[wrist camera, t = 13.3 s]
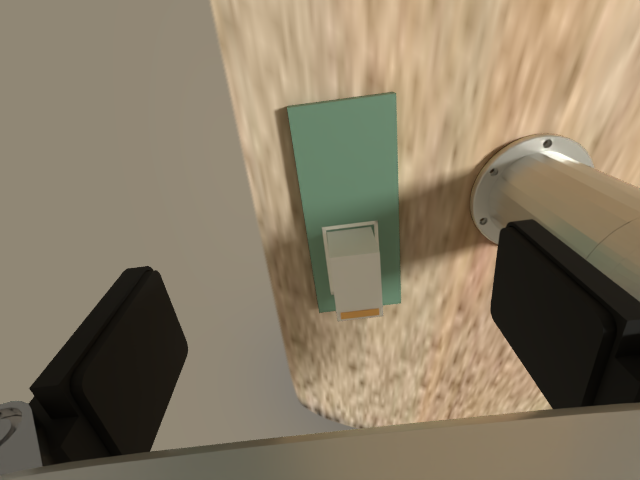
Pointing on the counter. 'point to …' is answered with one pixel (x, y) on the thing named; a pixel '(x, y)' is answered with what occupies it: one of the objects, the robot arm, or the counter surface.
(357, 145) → the header board
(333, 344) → the counter surface
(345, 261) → the plug cap
